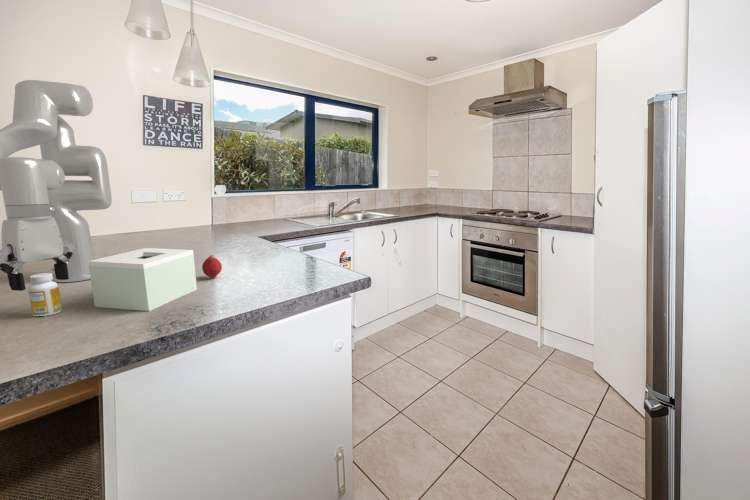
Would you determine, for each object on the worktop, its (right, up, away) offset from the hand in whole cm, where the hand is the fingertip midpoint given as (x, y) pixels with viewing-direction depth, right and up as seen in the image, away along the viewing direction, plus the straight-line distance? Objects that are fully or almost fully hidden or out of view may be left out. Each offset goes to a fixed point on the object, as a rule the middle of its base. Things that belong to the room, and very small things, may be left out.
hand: (41, 284), depth 86 cm
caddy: (+17, -5, +14) cm, 23 cm away
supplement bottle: (0, -7, +2) cm, 8 cm away
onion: (+26, -1, +33) cm, 42 cm away
